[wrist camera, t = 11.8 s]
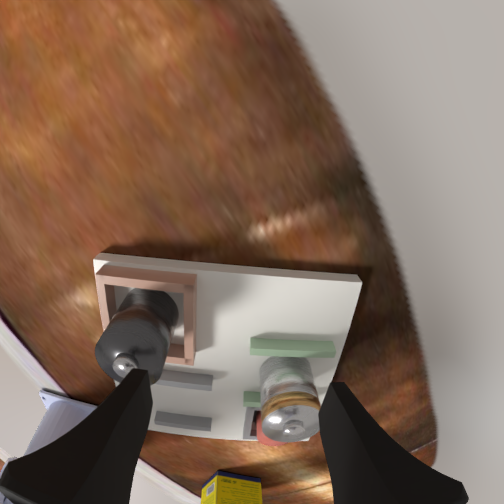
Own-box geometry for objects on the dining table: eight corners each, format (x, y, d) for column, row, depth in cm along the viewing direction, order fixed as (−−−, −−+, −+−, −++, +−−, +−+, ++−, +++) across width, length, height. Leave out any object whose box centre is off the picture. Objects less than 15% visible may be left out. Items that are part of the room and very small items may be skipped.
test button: (288, 424, 26) (291, 445, 24) (254, 423, 26) (255, 445, 23) (294, 403, 25) (298, 426, 22) (258, 402, 25) (259, 425, 22)
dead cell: (179, 337, 21) (162, 399, 16) (127, 330, 21) (98, 387, 16) (178, 289, 20) (156, 346, 14) (121, 282, 20) (84, 334, 14)
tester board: (306, 431, 28) (310, 452, 25) (129, 416, 27) (123, 436, 24) (357, 274, 21) (370, 293, 19) (100, 252, 20) (83, 268, 18)
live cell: (303, 390, 24) (314, 449, 18) (254, 387, 23) (256, 448, 18) (317, 354, 22) (334, 414, 17) (264, 349, 22) (269, 413, 16)
